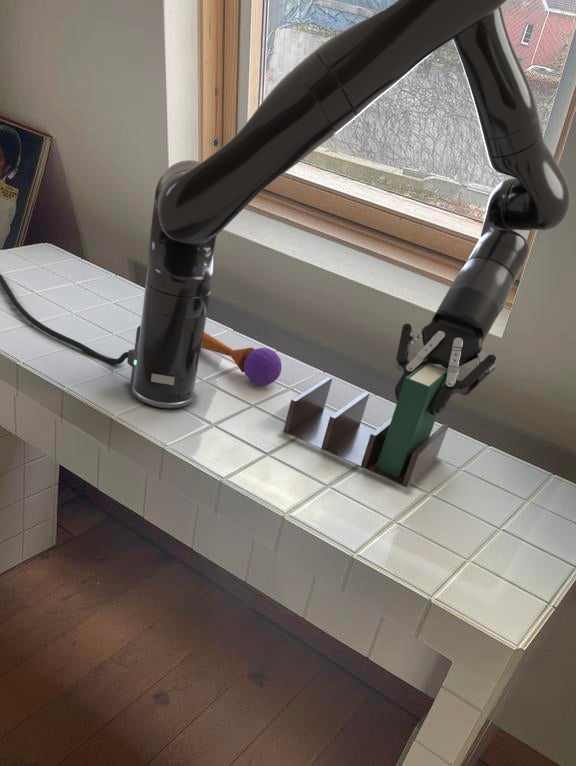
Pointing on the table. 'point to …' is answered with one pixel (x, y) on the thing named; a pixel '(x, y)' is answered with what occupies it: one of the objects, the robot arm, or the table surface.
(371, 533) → the table surface
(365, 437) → the rack
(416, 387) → the book
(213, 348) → the kendama
